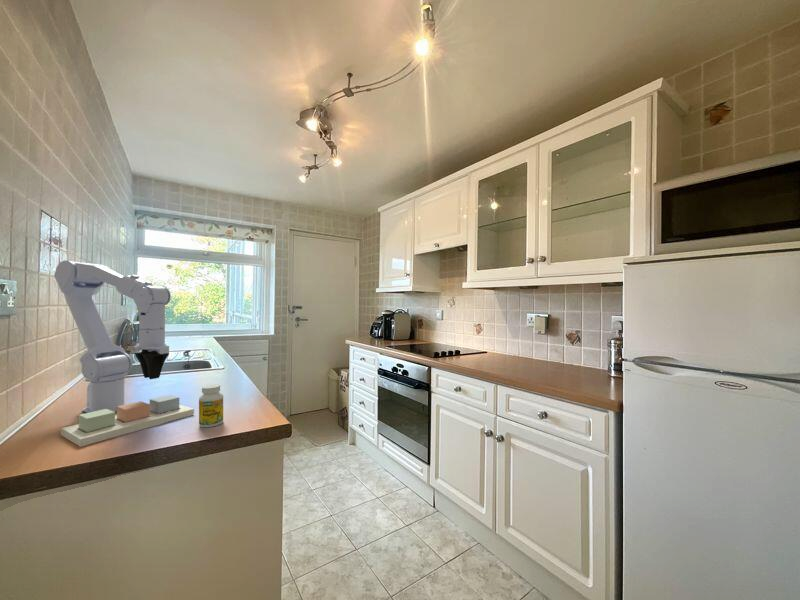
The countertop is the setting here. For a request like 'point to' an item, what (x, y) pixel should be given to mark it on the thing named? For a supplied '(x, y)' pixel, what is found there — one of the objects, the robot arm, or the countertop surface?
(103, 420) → the sage button
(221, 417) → the supplement bottle
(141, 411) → the terracotta button
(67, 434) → the panel
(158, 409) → the slate button
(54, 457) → the countertop surface
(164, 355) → the robot arm
